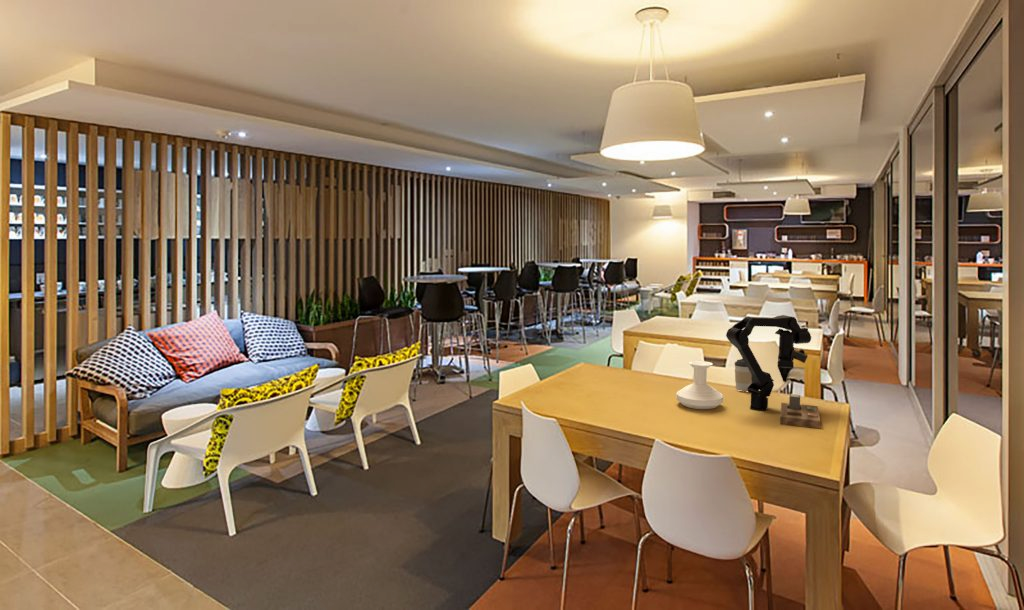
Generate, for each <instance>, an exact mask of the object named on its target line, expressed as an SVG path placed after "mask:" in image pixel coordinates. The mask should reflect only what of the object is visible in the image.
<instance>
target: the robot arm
mask: <svg viewBox="0 0 1024 610" xmlns="http://www.w3.org/2000/svg"><path fill="white" fill-rule="evenodd" d="M755 327H773V328H774V327H776V328H779V329H778V330H776V331H775V333H774V334H775V335H779V340H778V341H779V342H778V344H779V345H778V355H777V356H778V357H777V369H778V371H779V374H780V377H781V380H782V383H787V380H788V376H789V373H790V371H791V370H793V369H794V367H795V366H794V365H795V364H794V360H796V361H799V362H801V363H803V364H805V363H806V361H807V360H808V354H807V353H806V352H805V350H803V349H799V350H796V349H795V346H794V344H796V345H799V344H800V345H801V344H809V343H810V342H811V340H812V336H811V333H810V331H809V329H808V328H807V327H801V326H800V325H799V323H798V320H797V319H796V317H795V316H789V315H785V314H783V315H777V316H774V317H773V316H772V317H770V316H769V317H765V316H761V317H760V316H745V317H743V318H742V320H740V321H738V322H737V323H735V324H733V326H732V327H730V328H728V330H727V331H726V333H725V337H726V339H727V340H728V341H729V343H730V344H732V345H733V346H734V347H735V348H736V349H737V350H738V353H739V354H740V356H741V357H742V358H741V359H743V360H744V362H745V363H746V365H747V367H748V369H749V371H750V373H751V375H752V377H751V380H752V383H751V384H750V386H749V387H748V388H747V389H748V392H747V393H749V394H750V406H749V409H750V410H757V411H767V409H768V408H769V397H770V396H771V394H772V391H773V388H774V386H775V384H774V381H775V380H774V379H773V378H772V375H771V373H769V372H767V371H763V370H762V368H761V366H760V364H759V362H758V360H757V358H756V357H755V354H754V352H753V351H752V349H751V348H750V345H749V341H750V338H749V336H750V335H751V334H752V332H753V329H754V328H755Z"/></svg>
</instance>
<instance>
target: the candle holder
mask: <svg viewBox="0 0 1024 610" xmlns="http://www.w3.org/2000/svg"><path fill="white" fill-rule="evenodd" d="M687 364H689V365H690V366H691V367H692V368H693V382H692V383H691V384H687V385H686V386H684V387H683V388H681V389H679V390H678V391H676V401H678V402H679V403H680V404H681V405H683V406H684V407H686V408H690V409H696V410H711V409H715V408H717V407H718V406H719V405H720V406H721V404H723V403H724V394H722V393H721V392H720V391H719V390H717V389H715V388H714V387H712V386H711V385H709V384H707V378H708V377H707V374H708V373H707V369H708V368H709V367H711V366H713V365H714V364H713V363H712V362H709V361H707V360H706V361H704V360H692V361H691V360H690V361H688V363H687Z"/></svg>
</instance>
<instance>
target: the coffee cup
mask: <svg viewBox="0 0 1024 610" xmlns="http://www.w3.org/2000/svg"><path fill="white" fill-rule="evenodd" d="M751 377H752V375H751V373H750V371H749V369H748V367H747V365H746V363H745V362H744V360H743V358H741V359H737V360H736V361H735V362H734V382H735V390H736V389H737V390H742V391H748V389H747V388H748V387H749V386H750V384H751V383H752V380H751ZM737 390H736V391H737Z"/></svg>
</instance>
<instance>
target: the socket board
mask: <svg viewBox="0 0 1024 610" xmlns="http://www.w3.org/2000/svg"><path fill="white" fill-rule="evenodd" d="M780 425H787V426H794V427H795V426H797V427H803V428H805V427H806V428H813V429H821V418H820V411H819V406H817V405H810V404H809V405H808V404H802V403H800V410H798V409H789V402H781V403H780Z"/></svg>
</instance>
